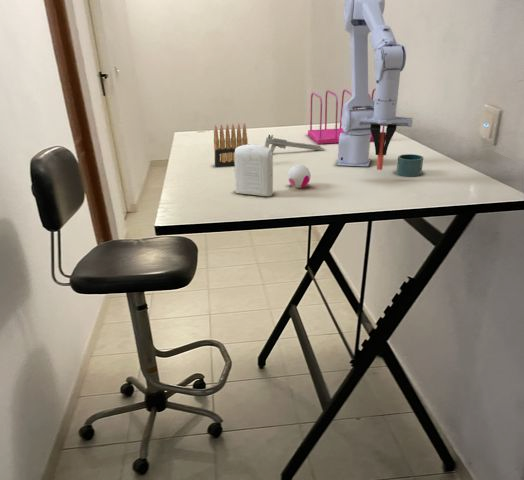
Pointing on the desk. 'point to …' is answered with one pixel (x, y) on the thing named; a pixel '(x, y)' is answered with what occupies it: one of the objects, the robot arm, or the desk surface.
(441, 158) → the desk surface
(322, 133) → the file sorter
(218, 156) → the ammunition clip
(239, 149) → the white tall block
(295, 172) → the stress ball
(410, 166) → the cup
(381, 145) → the red cylinder rod
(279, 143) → the caliper
